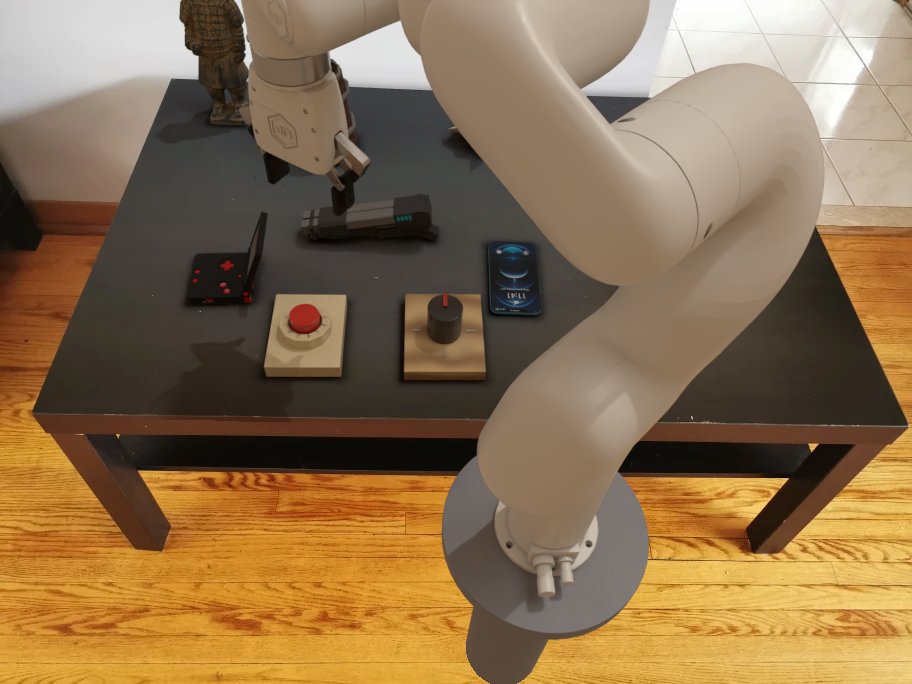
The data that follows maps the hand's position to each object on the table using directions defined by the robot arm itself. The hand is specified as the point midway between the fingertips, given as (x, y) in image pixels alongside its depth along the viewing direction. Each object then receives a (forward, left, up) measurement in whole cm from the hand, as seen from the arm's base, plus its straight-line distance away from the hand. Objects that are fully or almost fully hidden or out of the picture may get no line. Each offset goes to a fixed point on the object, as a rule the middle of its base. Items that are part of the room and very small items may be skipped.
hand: (311, 193), depth 83 cm
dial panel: (-3, -16, -24) cm, 29 cm away
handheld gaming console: (+8, +15, -24) cm, 29 cm away
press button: (-3, +3, -20) cm, 20 cm away
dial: (-3, -16, -21) cm, 27 cm away
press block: (-3, +3, -24) cm, 24 cm away
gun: (+18, -5, -24) cm, 30 cm away
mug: (+43, +4, -24) cm, 49 cm away
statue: (+50, +22, -24) cm, 59 cm away
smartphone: (+9, -27, -24) cm, 37 cm away
